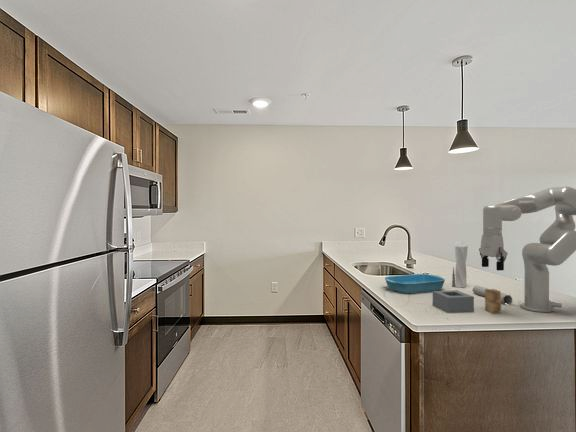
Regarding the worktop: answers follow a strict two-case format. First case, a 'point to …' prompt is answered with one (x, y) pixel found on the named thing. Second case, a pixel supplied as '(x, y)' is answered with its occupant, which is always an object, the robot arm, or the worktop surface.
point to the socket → (453, 301)
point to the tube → (481, 292)
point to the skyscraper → (460, 266)
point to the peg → (492, 301)
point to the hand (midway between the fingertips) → (492, 268)
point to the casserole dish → (415, 283)
